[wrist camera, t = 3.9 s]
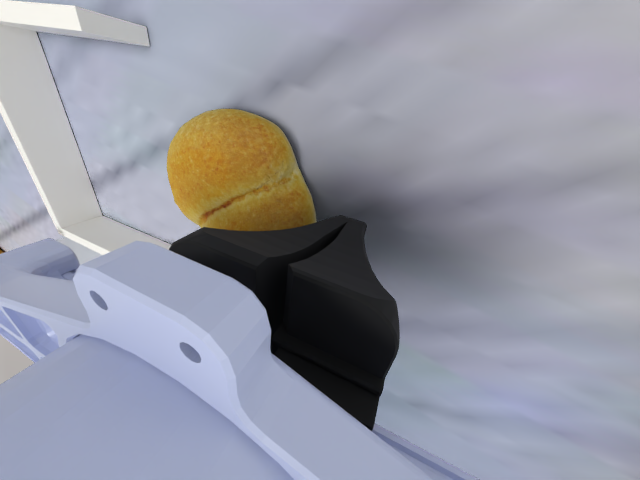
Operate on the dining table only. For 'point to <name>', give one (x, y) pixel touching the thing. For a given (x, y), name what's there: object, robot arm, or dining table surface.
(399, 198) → the dining table surface
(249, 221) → the bread roll
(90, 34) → the tray
